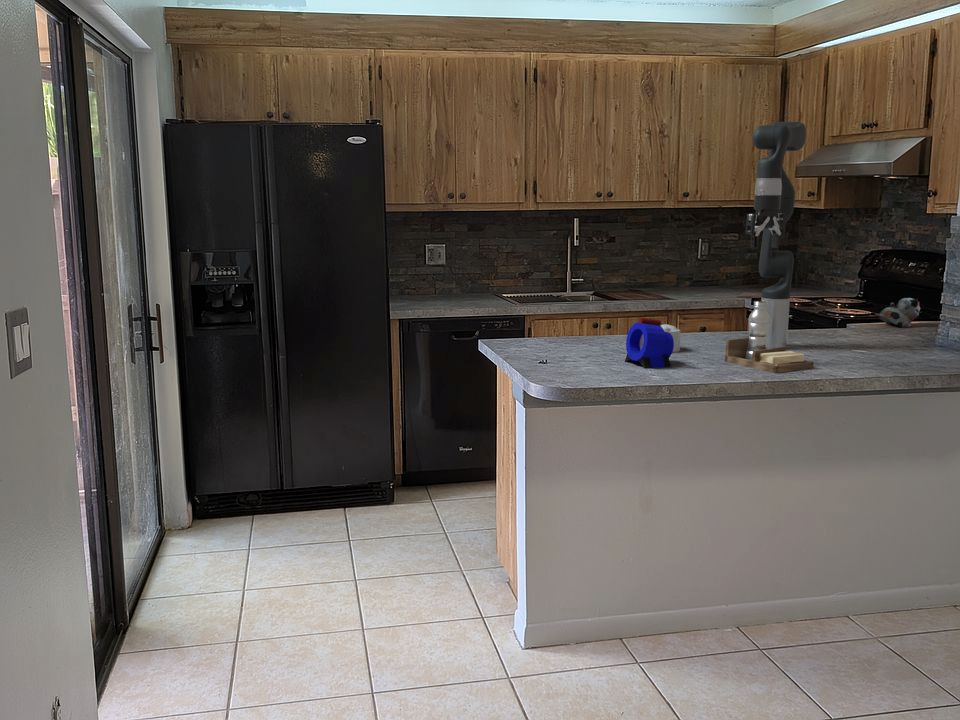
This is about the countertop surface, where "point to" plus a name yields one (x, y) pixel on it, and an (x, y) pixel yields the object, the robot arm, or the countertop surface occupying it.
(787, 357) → the offcut top
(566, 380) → the countertop surface
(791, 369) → the walnut rack
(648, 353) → the alarm clock
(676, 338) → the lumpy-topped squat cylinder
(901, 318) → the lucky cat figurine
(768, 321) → the silver metal bottle
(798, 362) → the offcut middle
